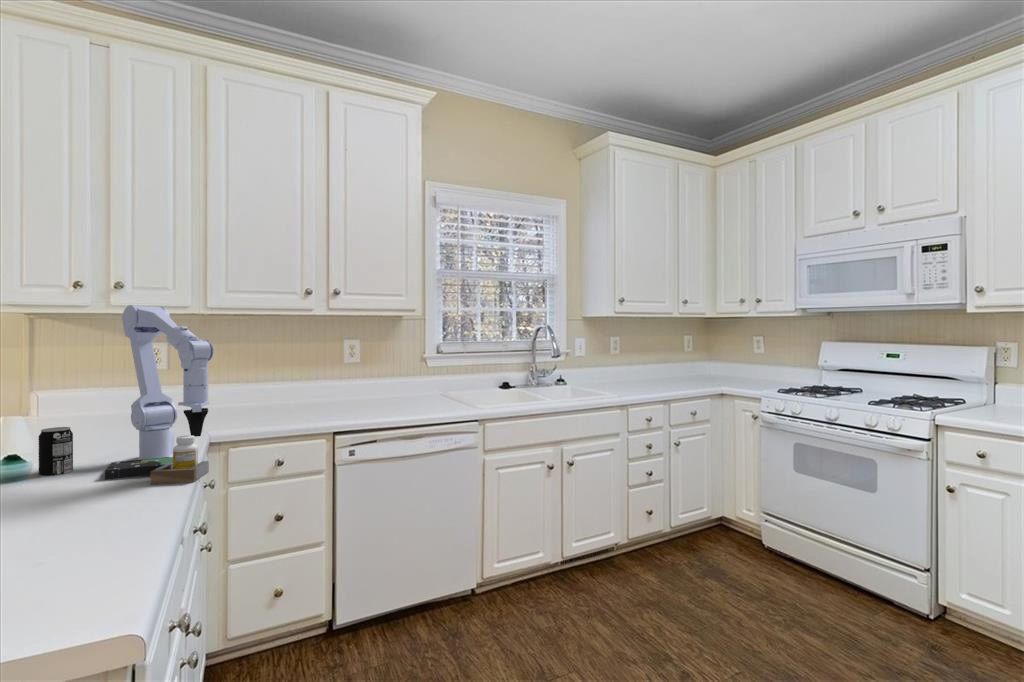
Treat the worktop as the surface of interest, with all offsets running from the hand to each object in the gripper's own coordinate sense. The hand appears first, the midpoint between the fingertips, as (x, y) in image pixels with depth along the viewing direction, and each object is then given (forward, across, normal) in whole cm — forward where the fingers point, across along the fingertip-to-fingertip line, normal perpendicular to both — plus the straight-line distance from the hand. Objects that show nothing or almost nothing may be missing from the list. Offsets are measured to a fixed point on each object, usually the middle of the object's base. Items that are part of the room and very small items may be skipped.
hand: (195, 436), depth 141 cm
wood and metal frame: (+9, +8, -3) cm, 13 cm away
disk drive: (+8, -3, -19) cm, 21 cm away
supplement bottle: (+9, +6, -2) cm, 11 cm away
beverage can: (+9, -11, -30) cm, 33 cm away
